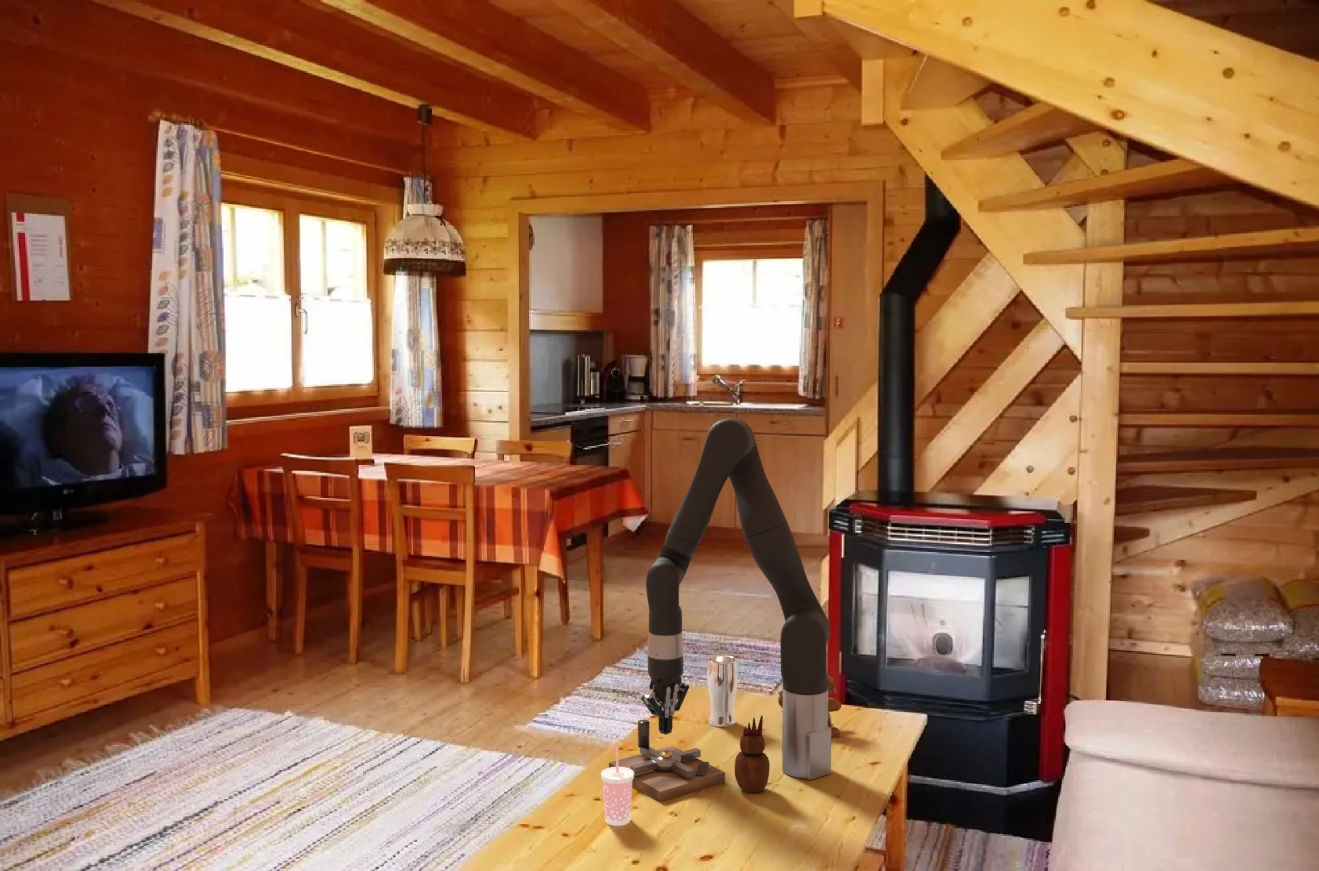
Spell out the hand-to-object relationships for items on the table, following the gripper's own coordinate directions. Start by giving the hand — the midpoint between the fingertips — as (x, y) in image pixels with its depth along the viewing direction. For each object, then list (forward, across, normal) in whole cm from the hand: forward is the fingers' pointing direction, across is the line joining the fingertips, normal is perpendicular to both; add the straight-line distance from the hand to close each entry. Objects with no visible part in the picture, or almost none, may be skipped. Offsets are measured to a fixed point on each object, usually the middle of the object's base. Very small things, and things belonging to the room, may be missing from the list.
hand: (665, 732), depth 230 cm
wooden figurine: (+6, 0, -24) cm, 24 cm away
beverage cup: (+6, -28, -14) cm, 32 cm away
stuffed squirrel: (+6, +34, -13) cm, 37 cm away
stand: (+6, -7, -7) cm, 11 cm away
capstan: (+3, -7, -6) cm, 10 cm away
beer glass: (+6, +25, +5) cm, 26 cm away
